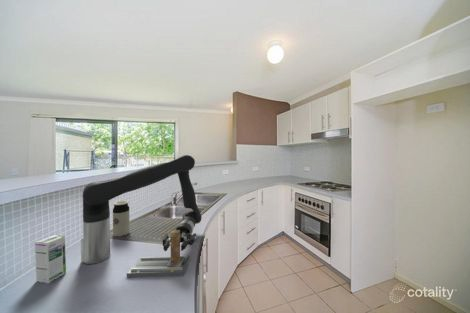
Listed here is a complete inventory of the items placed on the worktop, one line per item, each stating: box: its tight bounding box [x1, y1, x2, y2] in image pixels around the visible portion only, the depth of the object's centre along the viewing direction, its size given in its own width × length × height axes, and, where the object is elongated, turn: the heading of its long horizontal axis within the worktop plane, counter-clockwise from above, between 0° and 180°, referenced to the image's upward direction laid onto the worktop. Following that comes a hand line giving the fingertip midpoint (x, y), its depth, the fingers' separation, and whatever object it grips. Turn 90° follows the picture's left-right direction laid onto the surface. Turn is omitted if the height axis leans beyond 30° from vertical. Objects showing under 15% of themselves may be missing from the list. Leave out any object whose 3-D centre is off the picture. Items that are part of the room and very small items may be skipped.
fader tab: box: [167, 229, 184, 267], centre depth 71 cm, size 5×6×13 cm
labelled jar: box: [112, 200, 131, 237], centre depth 102 cm, size 8×8×18 cm
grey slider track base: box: [126, 255, 191, 278], centre depth 71 cm, size 21×10×2 cm, turn 92°
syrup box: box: [34, 234, 67, 284], centre depth 66 cm, size 6×6×14 cm
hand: (173, 248), depth 69 cm, fingers open, 6 cm apart
